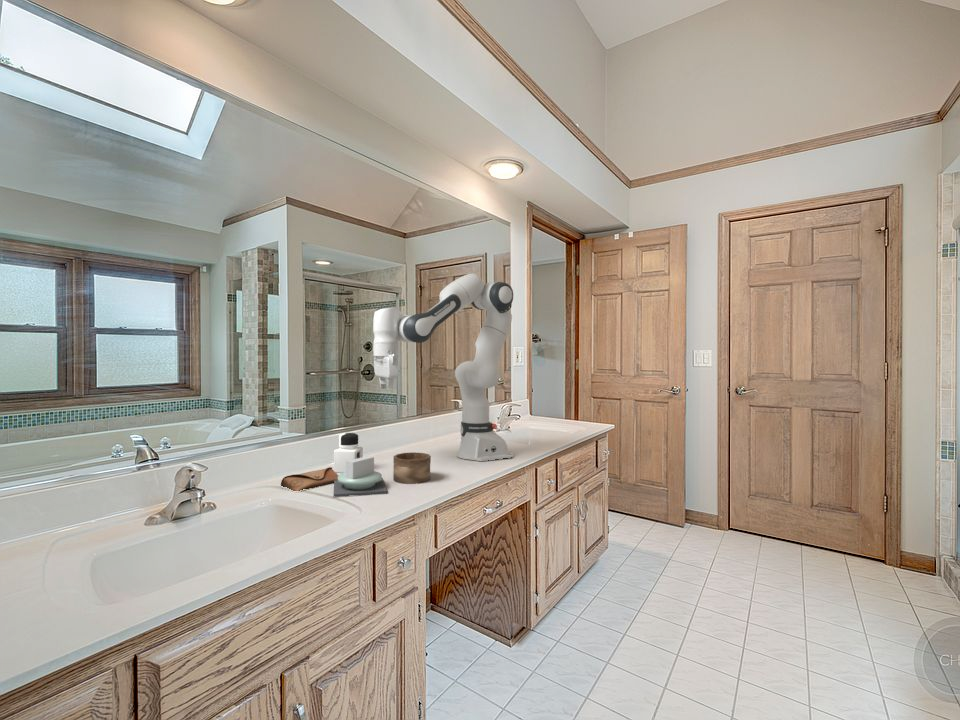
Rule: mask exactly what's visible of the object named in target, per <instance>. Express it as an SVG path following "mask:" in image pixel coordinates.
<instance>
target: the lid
mask: <svg viewBox="0 0 960 720" xmlns="http://www.w3.org/2000/svg"><path fill="white" fill-rule="evenodd" d="M374 465H375V456H368V455H367V456H363V457H362V458H358V459H354V460H350V461H346V472H345V473H339V474H337V475H338V482H339V483H341V484H344V487H345V488H347V489H352V490H362V489H369V488H372V487H374V486H375V485H376V483H377V482H379V481H381V479H382V478H383V475H382V473H381V472H379V471H374V470H375V466H374Z"/></svg>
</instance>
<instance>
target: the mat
mask: <svg viewBox="0 0 960 720" xmlns="http://www.w3.org/2000/svg"><path fill="white" fill-rule="evenodd" d="M370 494H371V495H370ZM372 494H374V495H383V494H384V495H386V494H388V490H387V487H386V484H385V481H384V478H383V477H382V479H381V481H379V482H377V483H376V485H375V486H374V487H372V488H369V489H362V490H352V489H347V488H345V487H344V484H341V483H339V482H338V480H336V481H334V483H333V497H334V496H345V497H350V496H349V495H359V496H372Z"/></svg>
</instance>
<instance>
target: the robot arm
mask: <svg viewBox="0 0 960 720" xmlns="http://www.w3.org/2000/svg"><path fill="white" fill-rule="evenodd" d="M513 300H514V290H513V287H512V285H510V284H508V283H507V282H505V281H496V282H487V283H484V281H483V279H482V277H480V276H479V275H478V274H477V273H474V272H473V273H472V272H471V273H467V274H465V275H462V276H461V277H458V278H456V279H455V280H453V281H451V282H450V283H448V284H446V286H445V287H444V288H443V289H442V290H441V291H440V292H439V302H438V303H437V304H435V305H434V306H432V307H431V308H430V309H429V310H428V311H426V312H423V313H417V314H413V315H408V314H406V313H404V312H402V311H401V310H400V309H398V308H397V307H396V306H392V305H390V306H382V307H379V308H377V309H376V310H375V311H374V313H373V321H372V322H373V323H372V332H373V335H374V338H373V342H372V343H373V345H372V347H373V348H372V350H371V355H372V357H373V368H374V370H373V371H374V374H375V376H376V377H378V379H379V384H380V385H379V386H380V390H382V389H383V390H385V389H386V390H387V391H388V392H392V391H393V390H394V384H395V379H398V378H399V373H400V372H399V361H398V360H399V359H398V357H399V342H404V343H418V344H421V343H425V342H426V341H428V340H429V339H430V338H431V337H432V335H433V334H434V332H435V330H436V329H437V328H438V327H439V325H441V324H442V323H443V322H445V321H446V320H447V319H448V318H450V317H451V316H452V315H453V314H455V313H458V312H461V311H462V310H463V309H465V308H466V307H467V306H470V305H471V306H472V307H474V308H475V309H476V310H480V311H486V314H485V315H486V317H485V320H484V322H483V324H482V326H481V329H480V332H479V333H478V336H477V339H475V343H474V347H475V355H474V359H473V360H466V361H464V362H461V363H459V364H458V365H457V367H456V368H455V371H454V376H455V380H456V381H457V383H458V386H459V391H460V396H461V403H462V404H461V406H462V407H461V408H462V409H461V414H462V415H461V421H460V422H461V423H460V435H461V436H460V444H459V450H458V453H457V457H458V458H460V459H464V460H470V461H471V460H472V461H477V462H487V461H488V460H489V461H496V460H495V459H499V460H504V459H503V458H508V459H512V458H511V457H514V455H513V453H512V452H510V451H508V445H507V442H506V441H505V439H504V438H502V437H501V436H500V435H499V434H498V433H497V432H495V431H494V430H497V428H498V425H497V424H496V423H493V422H490V402H489V399H488V398H487V396H486V395H487V394H486V391H485V389H490V388H493V387H495V386H496V385H497V384H498V382H499V380H500V377H501V374H500V373H501V372H500V370H499V361H500V355H501V353H502V352H501V351H502V349H503V347H504V344H505V341H506V339H507V336H508V335H509V331H510V328H511V324H512V319H513V315H512V312H511V311H510V310H511V309H512V305H513V303H514V302H513ZM386 381H387V382H386ZM386 383H387V384H386Z"/></svg>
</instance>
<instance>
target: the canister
mask: <svg viewBox="0 0 960 720" xmlns="http://www.w3.org/2000/svg"><path fill="white" fill-rule="evenodd" d="M431 458H432V457H431V455H430V454H429V453H424V452H413V451H412V452H402V453H397V454H394V455H393V470H392V471H393V474H392V475H393V477H392V478H393V481H394V482H395V483H398V484H404V485H405V484H406V485H413V484H414V485H415V484H416V483H417V484H422V483H423V484H424V483H427V482H429V481H430V480H431V460H432V459H431Z"/></svg>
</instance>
